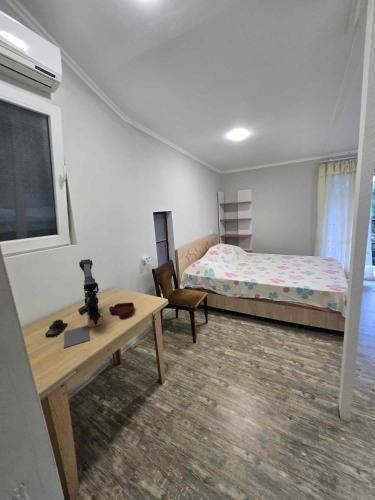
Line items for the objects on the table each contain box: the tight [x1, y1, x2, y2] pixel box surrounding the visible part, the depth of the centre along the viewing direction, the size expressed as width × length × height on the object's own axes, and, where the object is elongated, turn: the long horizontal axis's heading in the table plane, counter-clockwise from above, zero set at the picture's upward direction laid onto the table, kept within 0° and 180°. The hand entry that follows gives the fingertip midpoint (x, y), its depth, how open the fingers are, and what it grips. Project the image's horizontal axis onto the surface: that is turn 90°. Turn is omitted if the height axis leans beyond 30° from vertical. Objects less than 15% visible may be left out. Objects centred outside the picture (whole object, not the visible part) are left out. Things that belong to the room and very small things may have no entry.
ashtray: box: [108, 302, 135, 319], centre depth 149 cm, size 18×16×5 cm
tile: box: [87, 313, 103, 328], centre depth 134 cm, size 2×8×6 cm, turn 120°
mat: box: [63, 324, 91, 349], centre depth 122 cm, size 18×13×1 cm
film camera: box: [45, 319, 68, 338], centre depth 128 cm, size 13×8×10 cm
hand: (95, 322), depth 134 cm, fingers open, 5 cm apart
